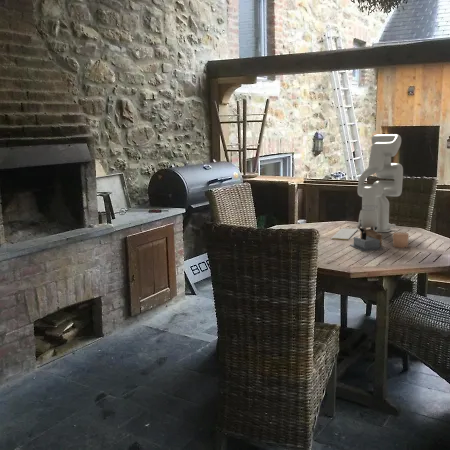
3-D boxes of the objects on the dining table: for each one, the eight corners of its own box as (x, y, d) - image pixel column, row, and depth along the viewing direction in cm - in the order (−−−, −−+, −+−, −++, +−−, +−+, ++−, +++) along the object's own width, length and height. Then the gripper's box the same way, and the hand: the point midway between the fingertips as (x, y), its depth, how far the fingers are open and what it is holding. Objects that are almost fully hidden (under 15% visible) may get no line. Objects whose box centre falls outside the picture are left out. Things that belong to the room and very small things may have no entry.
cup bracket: (369, 243, 292) (369, 235, 291) (382, 249, 278) (383, 240, 278) (350, 245, 289) (350, 236, 288) (363, 251, 275) (363, 241, 274)
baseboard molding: (327, 240, 307) (348, 241, 302) (328, 235, 306) (348, 236, 302) (338, 230, 335) (357, 231, 330) (338, 225, 334) (357, 226, 329)
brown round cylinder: (402, 244, 290) (402, 231, 289) (411, 247, 282) (411, 234, 281) (389, 245, 288) (390, 232, 287) (398, 248, 280) (398, 235, 279)
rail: (366, 237, 307) (367, 227, 306) (381, 245, 288) (381, 234, 287) (360, 237, 307) (360, 227, 305) (374, 245, 287) (375, 235, 286)
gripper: (378, 205, 303) (377, 236, 307) (352, 207, 299) (351, 238, 302) (385, 207, 296) (384, 239, 300) (358, 209, 292) (358, 241, 295)
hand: (367, 238), depth 301 cm, fingers closed on rail, 4 cm apart
